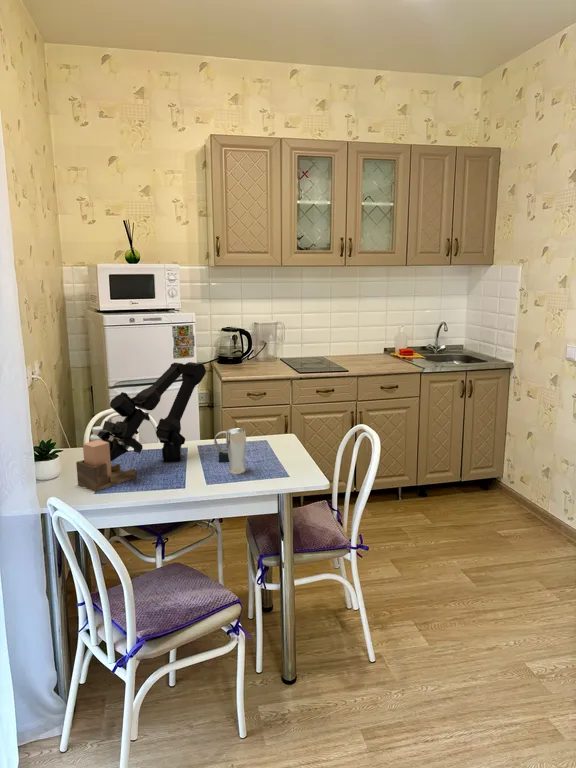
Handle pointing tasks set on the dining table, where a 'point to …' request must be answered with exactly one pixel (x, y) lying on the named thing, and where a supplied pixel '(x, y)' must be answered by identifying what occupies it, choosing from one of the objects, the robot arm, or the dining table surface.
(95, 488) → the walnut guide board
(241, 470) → the beer glass
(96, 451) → the terracotta block
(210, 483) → the dining table surface
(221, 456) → the watch
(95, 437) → the supplement bottle
